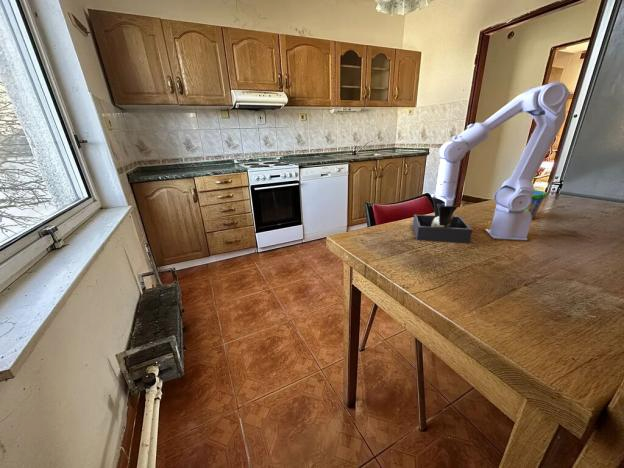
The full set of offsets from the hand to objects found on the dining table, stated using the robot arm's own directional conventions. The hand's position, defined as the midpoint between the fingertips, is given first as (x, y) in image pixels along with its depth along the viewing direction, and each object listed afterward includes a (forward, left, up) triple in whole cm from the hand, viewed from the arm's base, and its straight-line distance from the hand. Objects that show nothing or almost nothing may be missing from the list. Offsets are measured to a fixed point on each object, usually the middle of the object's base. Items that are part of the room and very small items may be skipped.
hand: (440, 221), depth 87 cm
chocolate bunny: (0, 0, -3) cm, 3 cm away
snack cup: (-35, -25, -5) cm, 43 cm away
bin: (0, 0, -5) cm, 5 cm away
